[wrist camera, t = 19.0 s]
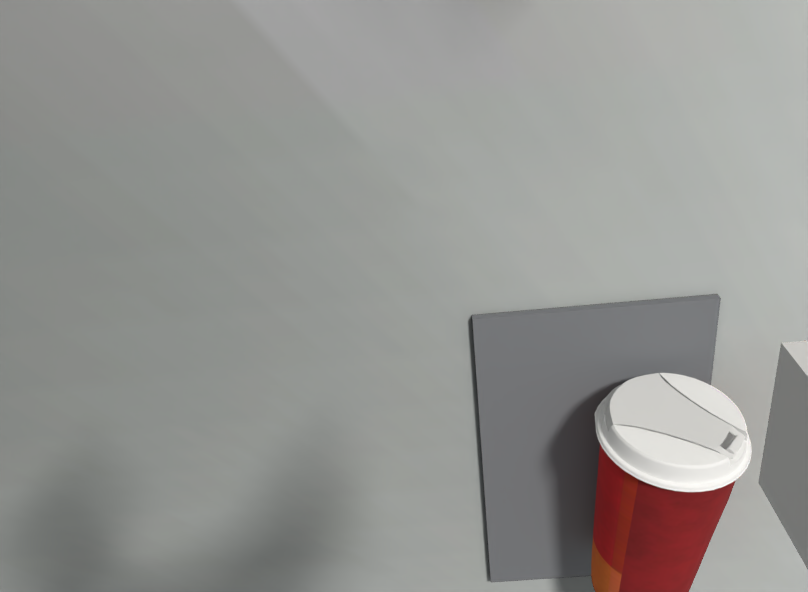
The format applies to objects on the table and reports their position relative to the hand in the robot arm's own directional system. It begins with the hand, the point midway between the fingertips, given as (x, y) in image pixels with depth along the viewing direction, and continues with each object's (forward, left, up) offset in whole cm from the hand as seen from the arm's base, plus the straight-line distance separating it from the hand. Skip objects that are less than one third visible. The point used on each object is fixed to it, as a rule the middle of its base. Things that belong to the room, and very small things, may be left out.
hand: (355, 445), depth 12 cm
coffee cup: (+12, -35, -25) cm, 44 cm away
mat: (+10, -26, -29) cm, 40 cm away
